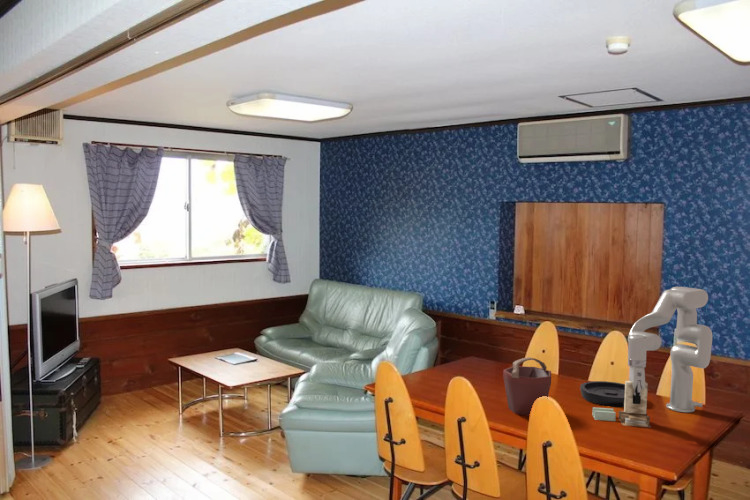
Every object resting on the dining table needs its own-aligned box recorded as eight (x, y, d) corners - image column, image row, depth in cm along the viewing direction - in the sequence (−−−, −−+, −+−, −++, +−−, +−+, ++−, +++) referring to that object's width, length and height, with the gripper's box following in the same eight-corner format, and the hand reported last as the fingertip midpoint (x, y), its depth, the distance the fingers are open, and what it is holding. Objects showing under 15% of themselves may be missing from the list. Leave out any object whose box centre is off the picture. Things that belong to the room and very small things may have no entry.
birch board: (644, 412, 284) (646, 381, 283) (646, 414, 282) (647, 383, 281) (623, 410, 286) (625, 380, 285) (625, 412, 283) (626, 382, 282)
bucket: (518, 420, 285) (520, 365, 283) (491, 405, 305) (492, 355, 304) (561, 414, 295) (563, 361, 293) (532, 400, 315) (533, 351, 313)
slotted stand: (612, 417, 291) (612, 408, 291) (615, 423, 284) (616, 413, 283) (591, 416, 293) (592, 406, 293) (594, 421, 285) (595, 412, 285)
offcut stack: (645, 424, 280) (646, 416, 280) (647, 426, 277) (648, 419, 277) (624, 422, 281) (625, 415, 281) (626, 425, 278) (626, 417, 278)
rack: (645, 422, 286) (646, 412, 286) (651, 429, 276) (651, 419, 276) (618, 420, 288) (618, 410, 288) (622, 427, 278) (623, 417, 278)
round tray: (583, 406, 308) (648, 411, 302) (584, 394, 308) (649, 399, 302) (576, 389, 338) (635, 393, 332) (577, 378, 337) (636, 382, 331)
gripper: (650, 367, 273) (649, 408, 275) (641, 358, 289) (640, 397, 291) (632, 367, 275) (631, 408, 276) (624, 357, 290) (623, 396, 292)
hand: (635, 402), depth 283 cm, fingers closed on birch board, 2 cm apart
